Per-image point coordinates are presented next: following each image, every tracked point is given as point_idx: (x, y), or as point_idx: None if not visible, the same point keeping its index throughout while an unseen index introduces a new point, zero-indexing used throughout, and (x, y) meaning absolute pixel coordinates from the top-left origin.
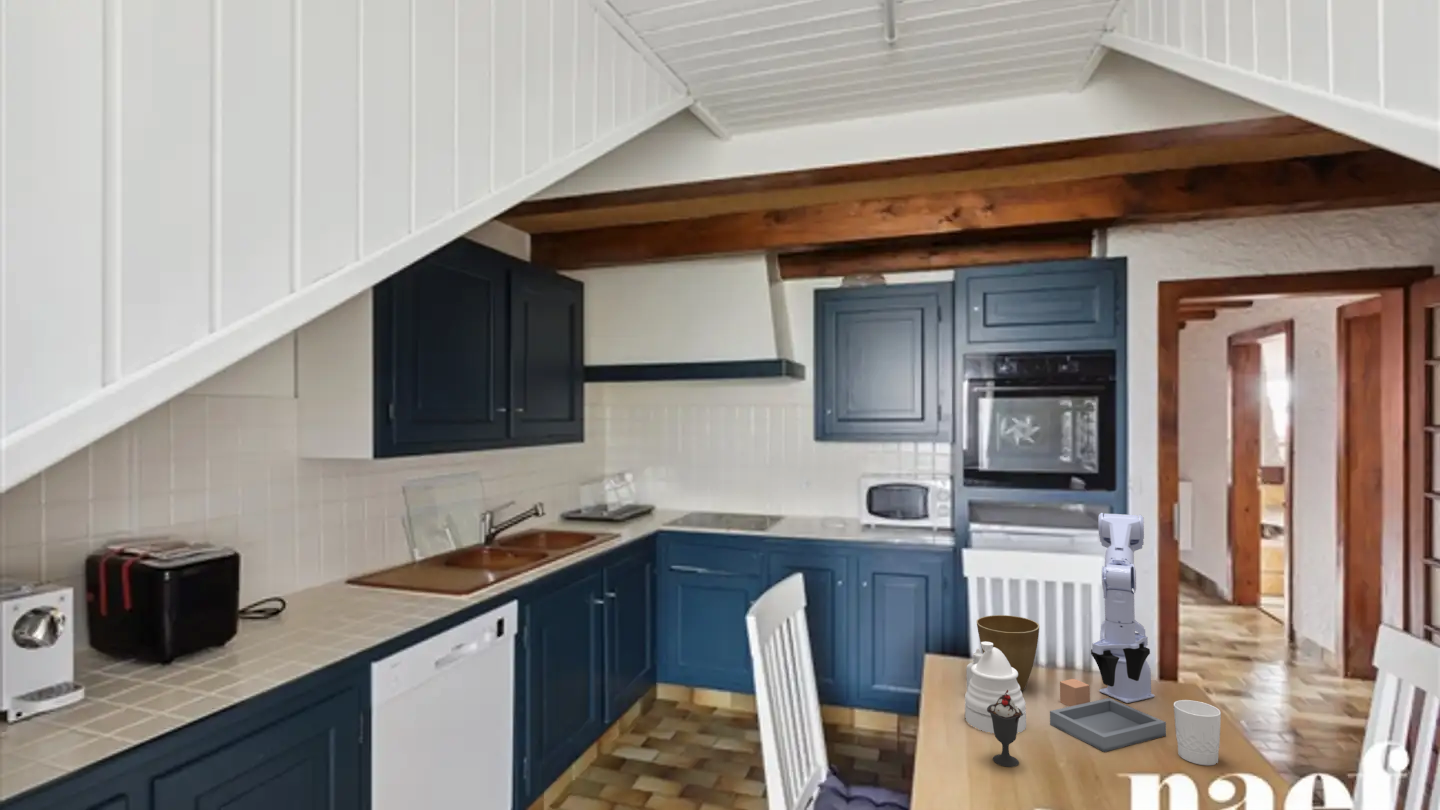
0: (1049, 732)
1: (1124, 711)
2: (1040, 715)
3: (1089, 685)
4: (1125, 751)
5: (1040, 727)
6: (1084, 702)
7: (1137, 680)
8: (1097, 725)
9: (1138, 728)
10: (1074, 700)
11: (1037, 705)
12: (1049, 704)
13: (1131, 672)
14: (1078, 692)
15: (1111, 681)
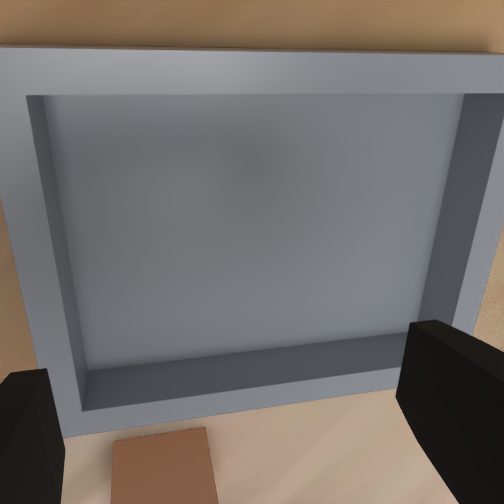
0: (489, 288)
1: (70, 313)
2: (382, 409)
3: None
4: (399, 7)
5: (475, 330)
6: (150, 453)
7: (32, 370)
8: (290, 265)
9: (267, 54)
10: (210, 462)
11: (315, 475)
12: (266, 476)
13: (40, 490)
14: (194, 496)
15: (485, 344)
